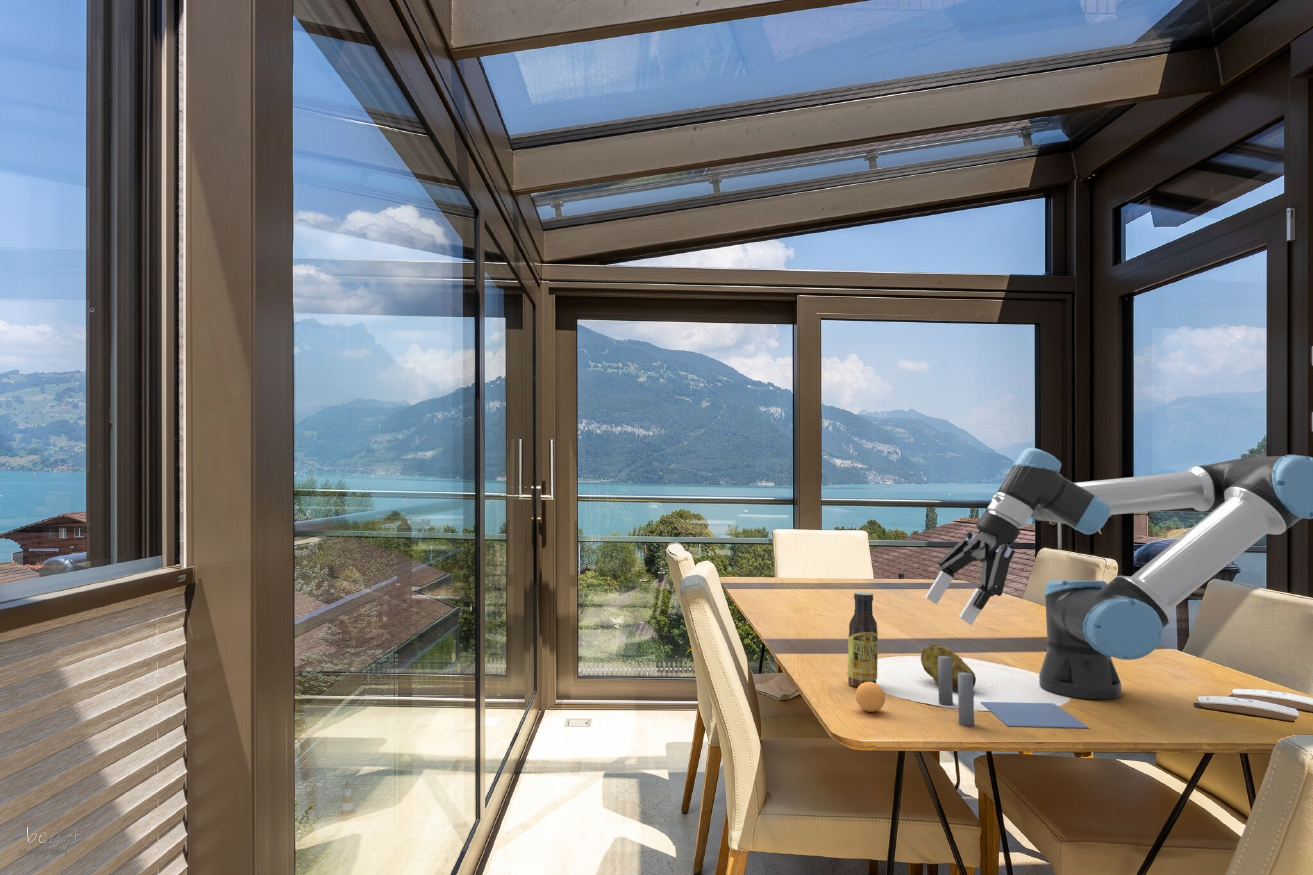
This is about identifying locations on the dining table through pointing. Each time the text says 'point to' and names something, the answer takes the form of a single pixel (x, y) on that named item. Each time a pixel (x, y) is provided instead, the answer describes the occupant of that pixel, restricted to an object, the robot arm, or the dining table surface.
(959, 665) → the potato
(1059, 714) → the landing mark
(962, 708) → the post
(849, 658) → the sauce bottle
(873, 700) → the ball
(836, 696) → the dining table surface
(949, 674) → the post
